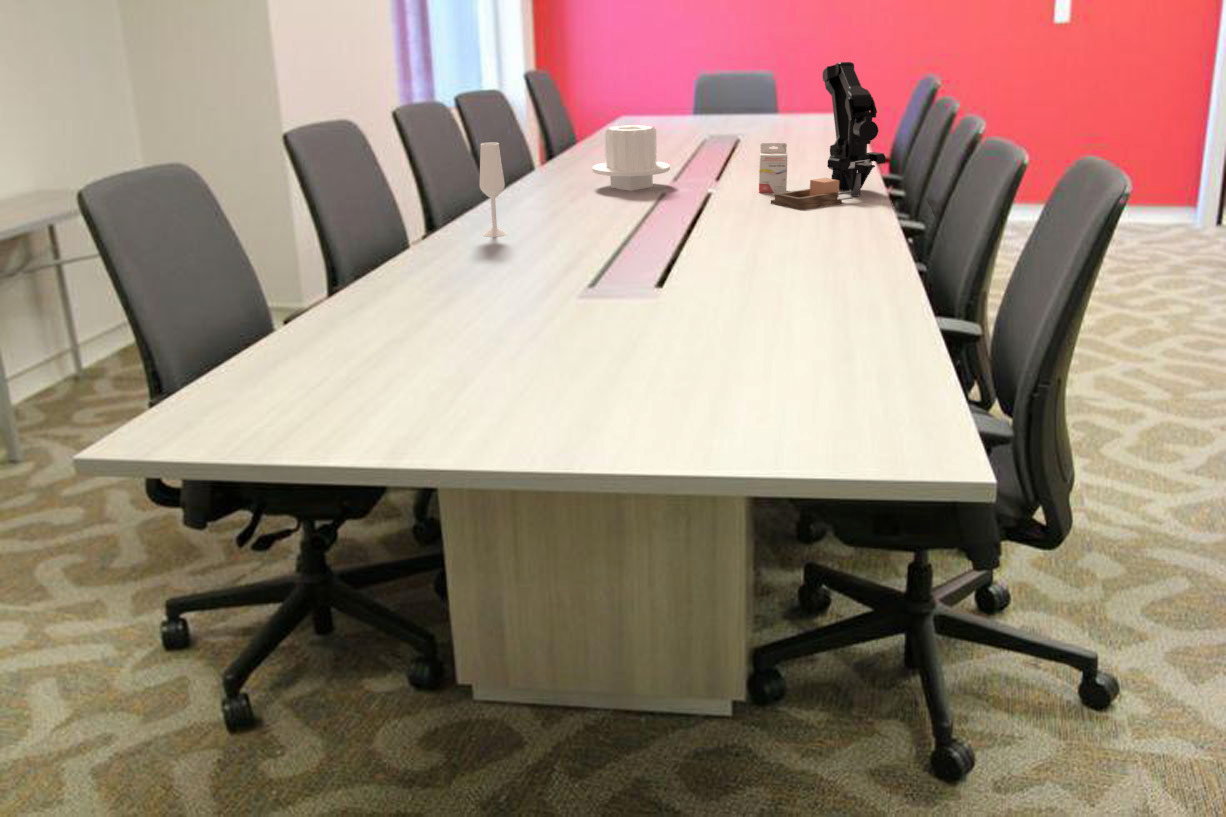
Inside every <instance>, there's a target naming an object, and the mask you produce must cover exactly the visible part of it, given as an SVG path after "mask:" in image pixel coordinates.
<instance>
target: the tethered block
mask: <svg viewBox="0 0 1226 817" xmlns="http://www.w3.org/2000/svg"><path fill="white" fill-rule="evenodd" d="M809 189H810V196H814V195H820V194H827V193H833V192H837V193H838V198H839V197H840V196H842V195H846V194H847V195H848V194H849V195H850V196H853V197H858V196H861V189H862V188H861V173H858V172H857V175H856V180H855V185H854V188H853V190H850V189H849V191H848V190H845V191H840V190H839V180H835V179H831V178H830V177H829V178H828V177H822V178H816V179H810V180H809Z"/></svg>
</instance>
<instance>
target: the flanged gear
mask: <svg viewBox="0 0 1226 817" xmlns="http://www.w3.org/2000/svg"><path fill="white" fill-rule="evenodd" d="M604 145H605V146H604V151H605V154H604V156H605V162H602V163H596V164H595V165H592V173H594V174H596V175H601V176H607V177H608V176H609V177H610V179H609V181H610V188H611V189H617V190H623V191H626V192H627V191H628V192H634V191H639V190H644V189H650V188H653V186H654V185H653V184H654V183H653V178H654V177H653V175H659V174H660V175H661V174H665V173H668V172H669V171H671V164H669V163H667V162H663V161H657V160H658V158H657V129H656V128H655V127H654V126H650V125H642V124H640V125H639V124H636V125H635V124H632V125H628V124H627V125H617V126H616V125H615V126H610V127H607V128H606V129H605V132H604Z"/></svg>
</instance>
